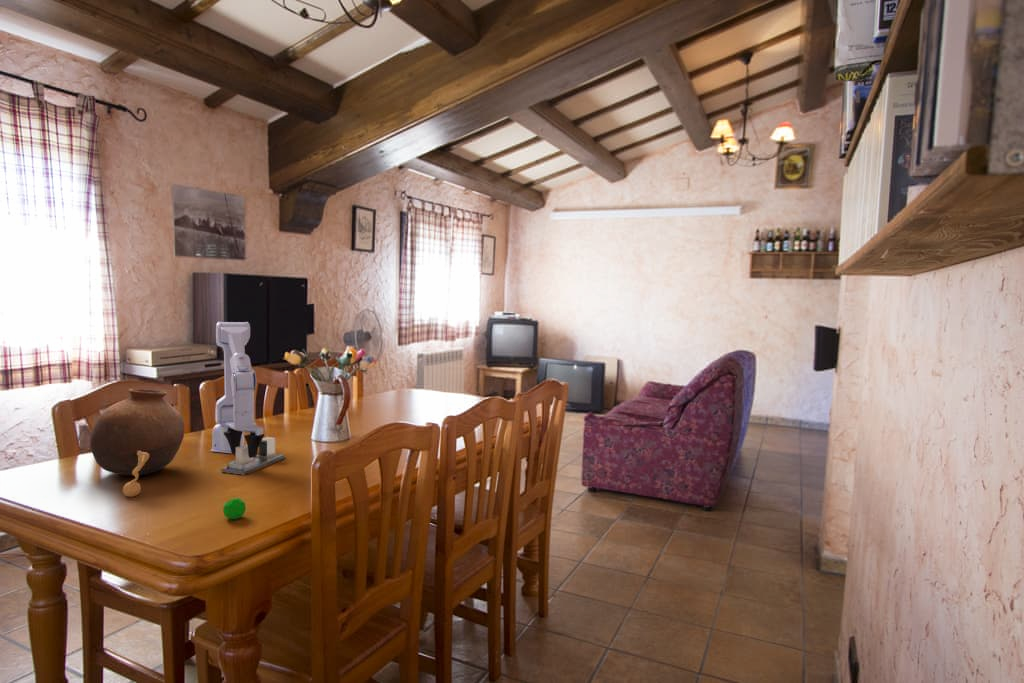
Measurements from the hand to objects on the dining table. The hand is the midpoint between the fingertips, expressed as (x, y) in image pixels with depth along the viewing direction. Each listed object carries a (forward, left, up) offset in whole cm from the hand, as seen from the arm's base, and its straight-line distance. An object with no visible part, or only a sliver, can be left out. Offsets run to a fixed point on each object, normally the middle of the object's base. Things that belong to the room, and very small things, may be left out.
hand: (244, 455), depth 183 cm
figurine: (-10, -29, -5) cm, 31 cm away
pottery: (-25, -13, -5) cm, 29 cm away
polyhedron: (+24, -34, -5) cm, 42 cm away
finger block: (0, 0, -3) cm, 3 cm away
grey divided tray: (0, +5, -4) cm, 7 cm away
